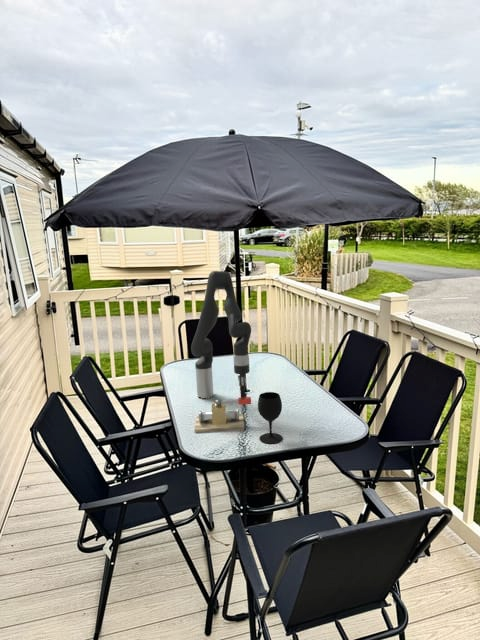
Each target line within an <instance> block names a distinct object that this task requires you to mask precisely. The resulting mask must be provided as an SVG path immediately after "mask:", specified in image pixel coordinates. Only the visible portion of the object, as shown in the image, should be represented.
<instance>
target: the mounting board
mask: <svg viewBox="0 0 480 640" xmlns="http://www.w3.org/2000/svg"><path fill="white" fill-rule="evenodd" d="M244 423H245V422H244V414H243V413H239V421H237V420H235V423H231V420H226V424H215V425H213V422H212V421H208V424H204V422H202V423H199V415H198V416H196V419H195V425H194V431H193V433H195V432H196V433H210V431H214V432H228V431H230V432H231V431H244V430H245V424H244ZM207 431H208V432H207Z"/></svg>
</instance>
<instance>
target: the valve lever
mask: <svg viewBox="0 0 480 640" xmlns="http://www.w3.org/2000/svg"><path fill="white" fill-rule="evenodd" d="M214 403H215V405H216V406H221V405H223V404H225V405H235V404H236V405H237V404H238V406H243V405H252V397H251V396H245V397H241V396H239V397H237V398H235V399H231V398H230V399H221V398H217V399H215V400H214Z"/></svg>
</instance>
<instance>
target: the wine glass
mask: <svg viewBox="0 0 480 640" xmlns="http://www.w3.org/2000/svg"><path fill="white" fill-rule="evenodd" d="M258 396H259V397H258V400H257V410H258V413H259V415H260V416H261V417H262V418H263V420H265V421H267V422H268V424H269V432H267V433H263V434H260V436H259V441H260V442H261V443H263V444H265V445H266V444H267V445H275V444H279V443H280V442H282V441H283V440H284V438H283V436H282V435H281V434H280V433H277V432H273V429H272V428H273V422H274V421H275V420H277V419H278V418H279V416H280V415H281V412H282V409H283V404H282V398H281V396H280V394H279V393H278V392H274V391H267V392H262V393H260V394H259V395H258Z"/></svg>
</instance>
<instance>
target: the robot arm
mask: <svg viewBox="0 0 480 640" xmlns="http://www.w3.org/2000/svg"><path fill="white" fill-rule="evenodd" d="M216 290H224V291H225V293H226V296H225V297H226V298H225V300H224V302H223V303H224V305H223V308H224V312H225V315H226V317H227V320H228V333H229V336H230V337H232V338H233V339H237V338H240V339H239V340H238V341H236V342H234V343H233V372H234V374H236V375H237V378H238V379H237V380H238V386H239V390H240V397H246V386H247V374H249V373H250V370H251V369H250V356H249V343H250V339H251V334H252V325H250V323H249V322H247V321H243V322H242V321H241V320H242V317H243V314H242V311H241V309H240V307H239V303H238V302H237V298H236V294H235V288H234V285H233V279H232V276H231V274H230V272H228V271H222V270H221V271H220V270H213V271H211V272H210V273H209V275H208V278H207V284H206V291H205V295H204V301H203V304H202V309H201V312H200V316H199V320H198V324H197V328H196V331H195V334H194V336H193V339H192V343H191V344H190V345H191V347H190V352H191V354H192V356H194V357H196V358H198V360H197V361H195V378H196V395H198V396H197V398H198V397H201V398H200V399H202V398H206V399H209V398H208V397H211V398H213V397H214V396H213V395H214V382H213V381H214V380H213V366H212V365H213V362H214V361H213V360H214V352H213V351H214V349H213V343H212V341H211V340H210V339H209V338H208V337H207V336H208V335H209V334H210V332H212V330H213V329H214V327H215V325H216V323H217V322H218V318H219V313H220V310H219V306H218V303H217V302H216V298H215V295H216ZM239 321H241V322H239ZM212 396H213V397H212Z"/></svg>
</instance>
